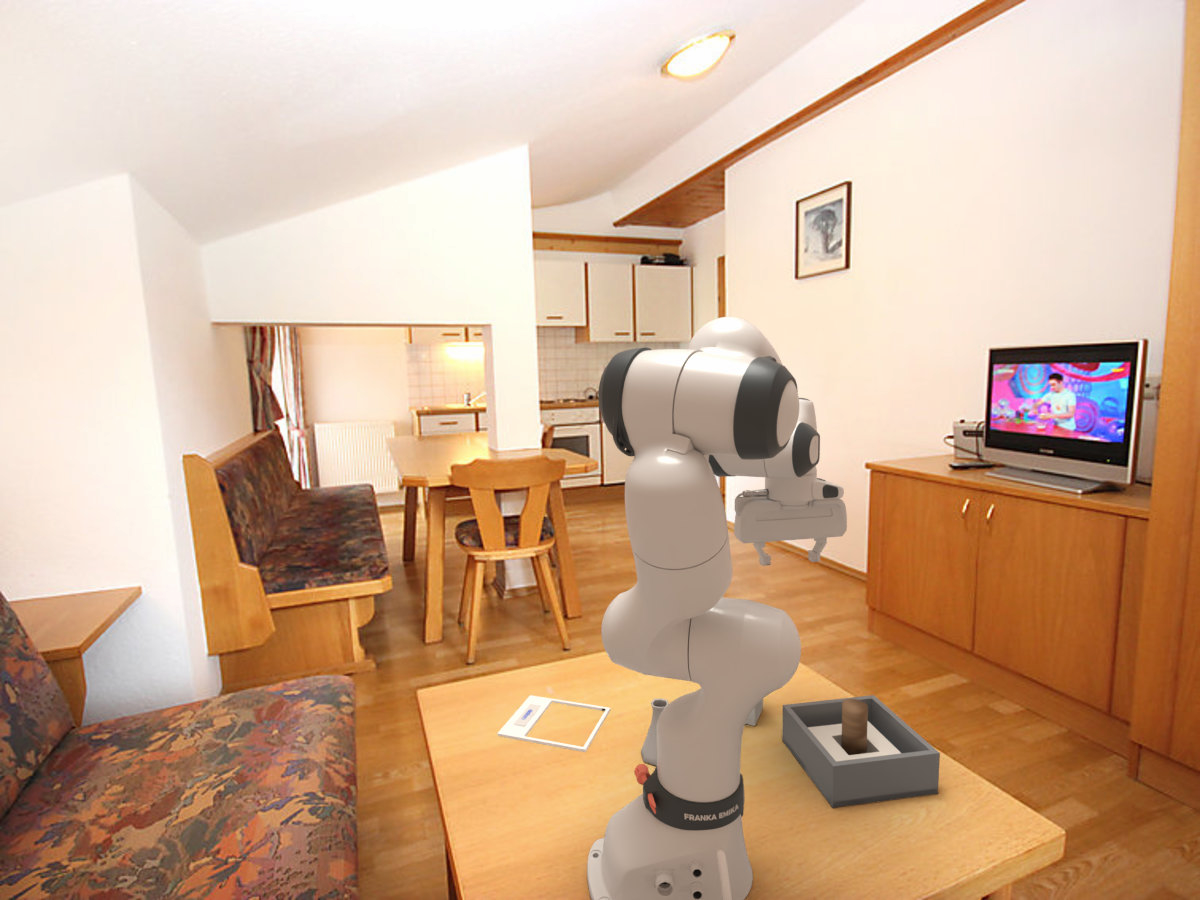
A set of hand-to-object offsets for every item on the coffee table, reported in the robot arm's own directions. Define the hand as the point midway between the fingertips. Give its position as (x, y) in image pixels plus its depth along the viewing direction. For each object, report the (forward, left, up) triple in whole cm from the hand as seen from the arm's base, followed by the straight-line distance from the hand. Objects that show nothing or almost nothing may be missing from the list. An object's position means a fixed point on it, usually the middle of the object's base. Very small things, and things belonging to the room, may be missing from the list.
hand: (789, 562), depth 112 cm
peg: (+7, -11, -32) cm, 35 cm away
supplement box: (-6, +8, -33) cm, 35 cm away
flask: (-25, -2, -33) cm, 42 cm away
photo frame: (-43, +12, -34) cm, 56 cm away
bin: (+7, -11, -33) cm, 36 cm away
